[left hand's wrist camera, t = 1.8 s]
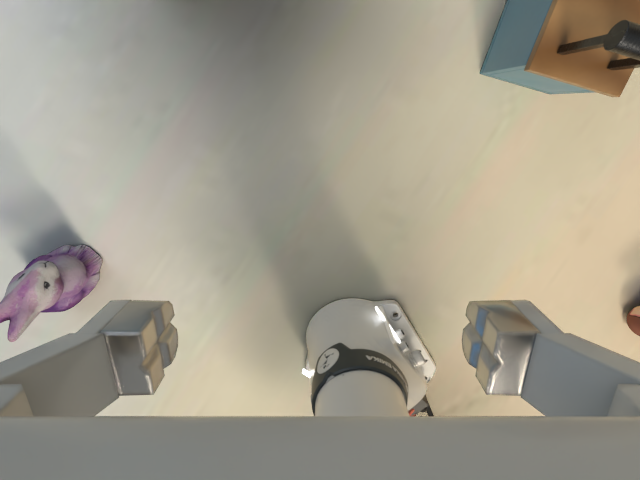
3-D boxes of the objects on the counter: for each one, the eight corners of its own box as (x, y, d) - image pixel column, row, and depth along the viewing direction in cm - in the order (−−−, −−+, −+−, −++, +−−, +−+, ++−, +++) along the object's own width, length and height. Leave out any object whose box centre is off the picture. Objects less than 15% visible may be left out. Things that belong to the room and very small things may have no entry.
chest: (549, 94, 45) (615, 91, 35) (479, 73, 44) (525, 65, 34) (606, -34, 41) (700, -78, 31) (528, -59, 40) (598, -113, 30)
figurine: (101, 236, 52) (19, 285, 38) (110, 298, 55) (39, 365, 41) (34, 231, 52) (-73, 279, 38) (48, 294, 55) (-46, 360, 41)
